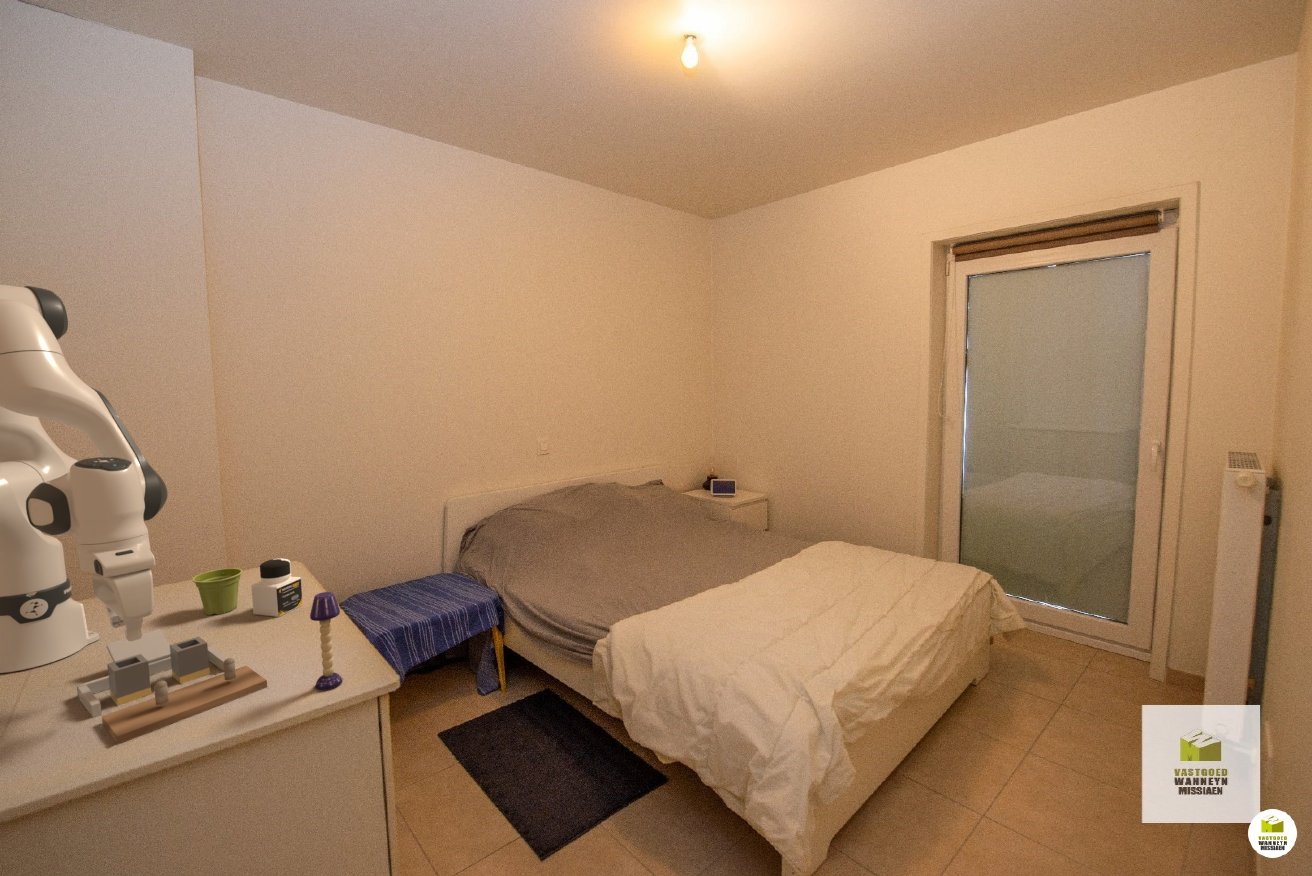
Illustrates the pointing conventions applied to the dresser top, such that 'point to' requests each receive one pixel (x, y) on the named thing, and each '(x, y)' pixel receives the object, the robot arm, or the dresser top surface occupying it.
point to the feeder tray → (148, 646)
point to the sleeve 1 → (129, 679)
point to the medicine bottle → (276, 589)
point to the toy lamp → (326, 637)
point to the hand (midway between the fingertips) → (126, 632)
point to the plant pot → (218, 589)
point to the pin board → (182, 702)
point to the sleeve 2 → (189, 659)
